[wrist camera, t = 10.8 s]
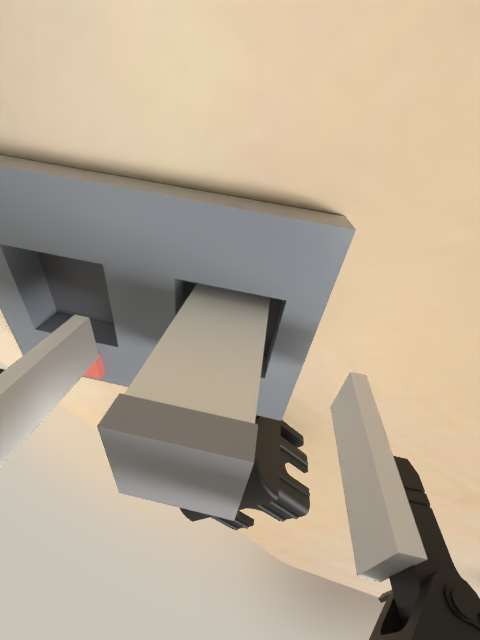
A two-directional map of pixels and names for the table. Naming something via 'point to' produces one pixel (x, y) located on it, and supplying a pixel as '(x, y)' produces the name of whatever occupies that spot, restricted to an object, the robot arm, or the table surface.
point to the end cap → (271, 477)
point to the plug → (193, 407)
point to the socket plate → (158, 265)
